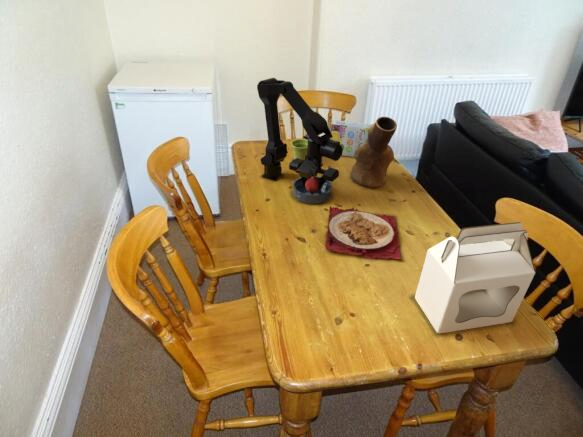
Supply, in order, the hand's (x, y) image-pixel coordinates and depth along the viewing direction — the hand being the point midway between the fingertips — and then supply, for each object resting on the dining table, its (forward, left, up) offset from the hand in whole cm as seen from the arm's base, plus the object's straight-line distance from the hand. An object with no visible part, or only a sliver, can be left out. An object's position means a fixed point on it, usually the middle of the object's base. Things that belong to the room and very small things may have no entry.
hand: (312, 189), depth 159 cm
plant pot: (-18, +23, -2) cm, 29 cm away
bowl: (0, 0, -2) cm, 2 cm away
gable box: (+63, -32, -2) cm, 71 cm away
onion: (0, 0, -2) cm, 2 cm away
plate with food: (+27, -14, -3) cm, 30 cm away
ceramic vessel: (+16, +21, -2) cm, 27 cm away
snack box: (-2, +42, -2) cm, 42 cm away
